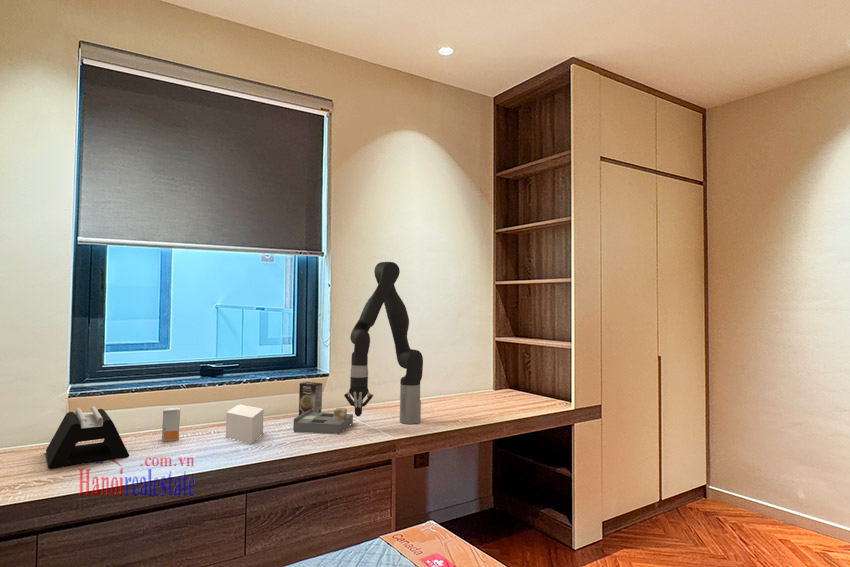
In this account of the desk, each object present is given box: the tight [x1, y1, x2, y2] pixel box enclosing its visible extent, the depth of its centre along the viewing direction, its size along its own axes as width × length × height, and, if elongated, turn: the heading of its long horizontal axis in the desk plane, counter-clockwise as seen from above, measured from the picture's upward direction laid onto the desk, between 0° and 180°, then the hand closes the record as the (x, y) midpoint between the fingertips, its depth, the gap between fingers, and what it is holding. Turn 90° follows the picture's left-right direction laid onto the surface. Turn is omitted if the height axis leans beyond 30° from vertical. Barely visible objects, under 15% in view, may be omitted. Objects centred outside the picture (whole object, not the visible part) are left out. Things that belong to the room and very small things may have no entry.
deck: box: [292, 409, 354, 435], centre depth 222 cm, size 20×20×6 cm
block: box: [333, 407, 348, 420], centre depth 221 cm, size 4×4×4 cm
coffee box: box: [298, 381, 323, 416], centre depth 241 cm, size 9×6×16 cm
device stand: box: [45, 405, 130, 470], centre depth 178 cm, size 22×22×15 cm
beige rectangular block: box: [225, 403, 265, 445], centre depth 206 cm, size 14×29×10 cm, turn 29°
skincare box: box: [161, 407, 181, 442], centre depth 199 cm, size 6×4×12 cm
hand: (358, 415), depth 220 cm, fingers closed
